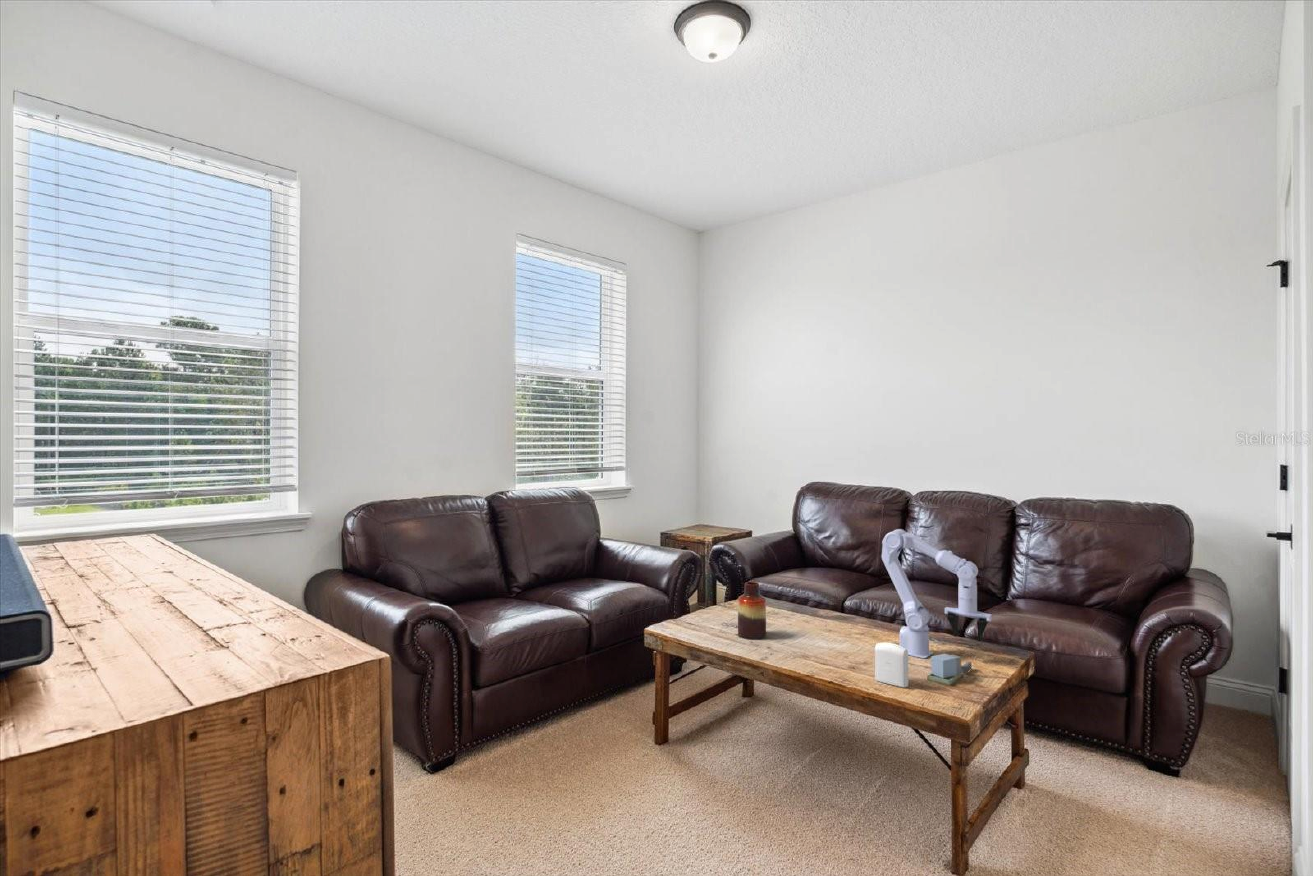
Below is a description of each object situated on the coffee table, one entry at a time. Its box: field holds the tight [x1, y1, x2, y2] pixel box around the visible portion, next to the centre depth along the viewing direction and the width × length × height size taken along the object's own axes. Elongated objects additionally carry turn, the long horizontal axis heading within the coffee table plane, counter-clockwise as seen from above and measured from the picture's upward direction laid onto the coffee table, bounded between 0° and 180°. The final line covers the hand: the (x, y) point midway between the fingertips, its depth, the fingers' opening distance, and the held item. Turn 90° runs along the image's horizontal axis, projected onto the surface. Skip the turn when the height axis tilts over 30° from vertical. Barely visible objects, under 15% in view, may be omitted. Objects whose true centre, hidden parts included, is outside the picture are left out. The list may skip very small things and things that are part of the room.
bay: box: [961, 660, 972, 675], centre depth 218 cm, size 8×6×2 cm
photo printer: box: [874, 641, 909, 689], centre depth 206 cm, size 10×4×12 cm, turn 47°
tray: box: [926, 671, 963, 687], centre depth 210 cm, size 7×12×2 cm, turn 138°
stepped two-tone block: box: [930, 653, 962, 678], centre depth 210 cm, size 4×9×6 cm, turn 116°
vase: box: [737, 581, 767, 641], centre depth 255 cm, size 11×11×20 cm
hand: (967, 638), depth 224 cm, fingers open, 7 cm apart
